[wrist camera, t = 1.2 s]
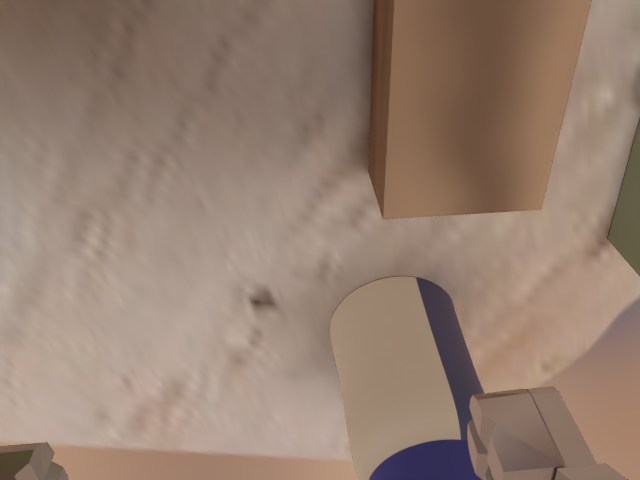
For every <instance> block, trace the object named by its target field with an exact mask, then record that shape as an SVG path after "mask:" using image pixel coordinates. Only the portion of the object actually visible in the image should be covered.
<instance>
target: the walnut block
mask: <svg viewBox="0 0 640 480" xmlns="http://www.w3.org/2000/svg"><path fill="white" fill-rule="evenodd" d="M591 1H592V0H374V14H373V46H372V78H371V110H370V141H369V176H370V179H371V182H372V185H373V188H374V192H375V195H376V198H377V201H378V204H379V208H380V211H381V214H382V217H383V219H395V218H412V217H428V216H445V215H461V214H478V213H494V212H510V211H527V210H541V209H542V205H543V200H544V196H545V192H546V188H547V184H548V180H549V176H550V171H551V167H552V163H553V159H554V155H555V151H556V147H557V142H558V138H559V134H560V130H561V126H562V122H563V117H564V113H565V109H566V105H567V101H568V97H569V93H570V88H571V84H572V80H573V76H574V72H575V68H576V64H577V59H578V55H579V51H580V47H581V43H582V39H583V34H584V30H585V26H586V22H587V18H588V14H589V10H590V5H591Z"/></svg>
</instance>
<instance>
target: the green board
mask: <svg viewBox="0 0 640 480" xmlns="http://www.w3.org/2000/svg"><path fill="white" fill-rule="evenodd" d="M608 240H609V241H610V243H611V244H612V245H613V246H614V247H615V248H616V250H617V251H618V252H619V253H620V254H621V255H622V256H623V258H624V259H625V260H626V261H627V262H628V263H629V265H630V266H631V267H632V268H633V269H634V270H635V272H636V273H637V274H638V275H639V276H640V120H639V124H638V128H637V132H636V135H635V139H634V143H633V146H632V150H631V154H630V157H629V161H628V165H627V169H626V172H625V176H624V180H623V183H622V187H621V191H620V194H619V198H618V202H617V206H616V209H615V213H614V217H613V220H612V224H611V228H610V231H609V235H608Z"/></svg>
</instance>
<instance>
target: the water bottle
mask: <svg viewBox="0 0 640 480" xmlns="http://www.w3.org/2000/svg"><path fill="white" fill-rule="evenodd" d="M329 332H330V339H331V344H332V348H333V353H334V358H335V362H336V367H337V372H338V377H339V382H340V387H341V393H342V399H343V404H344V411H345V417H346V424H347V431H348V437H349V443H350V449H351V455H352V459H353V463H354V467H355V471H356V474H357V476H358V479H359V480H482V479H481V478H480V477H478V476H477V475H476V474H475V471H474V468H473V465H472V461H471V457H470V453H469V447H468V438H467V430H468V423H469V422H470V421H471V420H472V419H473V417H472V414H471V411H470V408H469V407H470V399H471V397H472V395H477V394H485V393H484V390H483V388H482V385H481V382H480V380H479V377H478V374H477V372H476V369H475V366H474V363H473V360H472V358H471V355H470V352H469V349H468V346H467V343H466V340H465V337H464V334H463V331H462V327H461V324H460V321H459V318H458V315H457V312H456V308H455V306H454V303H453V301H452V299H451V298H450V296H449V295H448V294H447V293H446V292H445V291H444V290H443V289H442V288H441V287H439V286H438V285H436V284H434V283H432V282H430V281H427V280H424V279H420V278H416V277H407V276H398V277H388V278H383V279H379V280H376V281H373V282H370V283H368V284H365V285H363V286H361V287H360V288H358V289H356V290H355V291H353V292H352V293H350V294H349V295H348V296H347V297H346V298H345V299H344V300H343V301H342V302H341V303H340V304H339V305H338V307H337V308H336V310H335V312H334V314H333V316H332V318H331V322H330V329H329Z"/></svg>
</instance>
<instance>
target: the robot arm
mask: <svg viewBox="0 0 640 480" xmlns="http://www.w3.org/2000/svg"><path fill="white" fill-rule="evenodd" d="M469 408H470V411H471V414H472V417H473V419H472V420H471V421H470V422H469V423H468V430H467V438H468V447H469V453H470V457H471V461H472V465H473V468H474V471H475V474H476V475H477V476H478V477H480V478H481V479H482V480H628V479H627V478H625V477H624V476H622V475H621V474H620V473H618V472H617V471H616V470H614V469H613V468H611V467H610V466H609V465H607V464H606V463H601V464H597V463H596V461H595V459H594V457H593V455H592V453H591V451H590V449H589V447H588V446H587V444H586V442H585V440H584V438H583V436H582V434H581V432H580V430H579V429H578V427H577V425H576V423H575V421H574V419H573V417H572V415H571V414H570V412H569V410H568V408H567V406H566V404H565V402H564V400H563V398H562V396H561V395H560V393H559V391H558V390H557V389H556V388H555V387H553V386H549V387H541V388H532V389H526V390H525V389H517V390H509V391H501V392H493V393H485V394H477V395H472V397H471V399H470V407H469ZM53 456H54V451H53V450H52V448H51V447H50V445H49V444H48V442H44V443H32V444H20V445H8V446H0V480H68V475H67V473H66V472H65V470H64V468H63V467H62V466H60V465H58V464H56V463H54V462H52V459H53Z"/></svg>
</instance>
